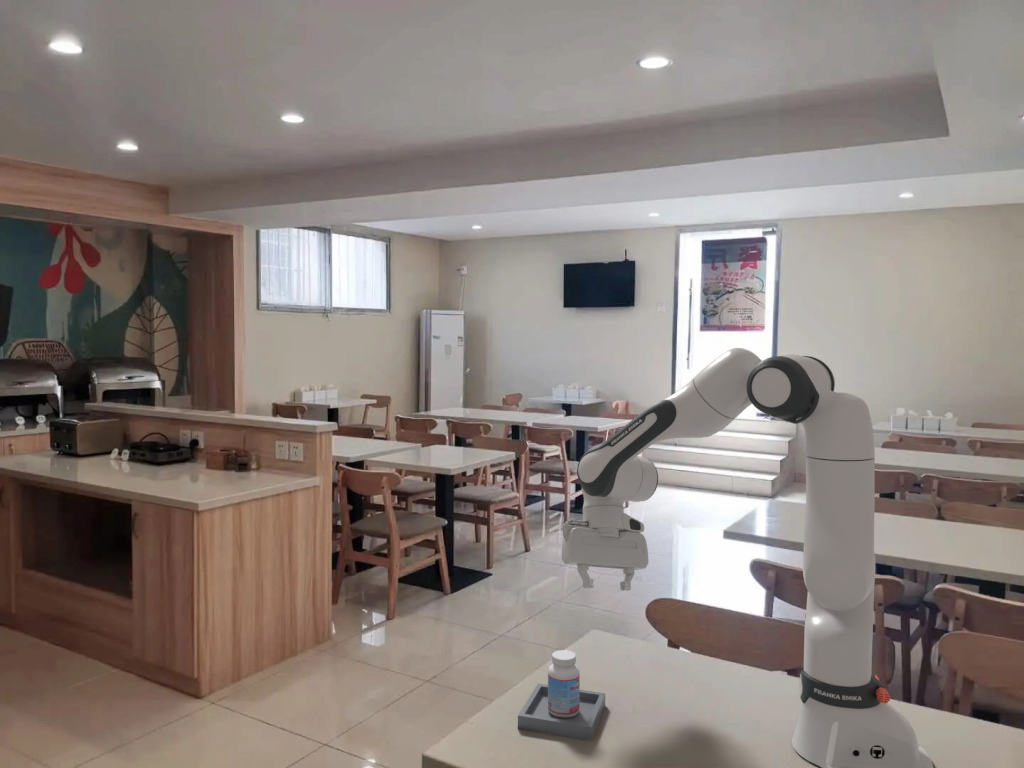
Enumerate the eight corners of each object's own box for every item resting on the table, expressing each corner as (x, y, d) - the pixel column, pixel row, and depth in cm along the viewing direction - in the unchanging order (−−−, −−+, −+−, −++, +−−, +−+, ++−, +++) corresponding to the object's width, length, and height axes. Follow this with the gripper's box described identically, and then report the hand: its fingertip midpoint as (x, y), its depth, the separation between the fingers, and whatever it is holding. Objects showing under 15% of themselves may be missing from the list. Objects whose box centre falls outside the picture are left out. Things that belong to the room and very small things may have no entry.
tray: (605, 705, 152) (605, 693, 152) (591, 740, 138) (591, 727, 138) (537, 695, 156) (537, 683, 156) (517, 728, 143) (517, 715, 142)
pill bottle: (577, 720, 144) (577, 662, 143) (545, 717, 145) (545, 659, 144) (581, 705, 149) (581, 649, 149) (550, 702, 151) (550, 647, 150)
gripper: (570, 515, 156) (573, 584, 151) (650, 524, 165) (655, 590, 160) (554, 521, 161) (556, 588, 156) (632, 529, 170) (636, 593, 165)
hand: (607, 589), depth 158 cm, fingers open, 8 cm apart
